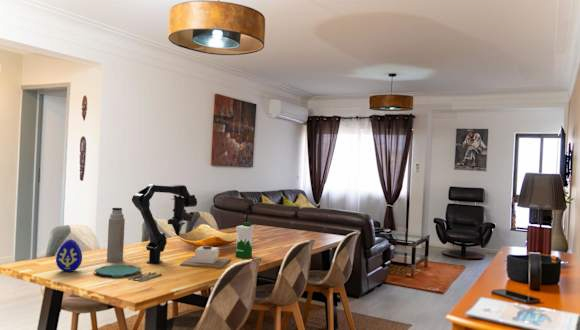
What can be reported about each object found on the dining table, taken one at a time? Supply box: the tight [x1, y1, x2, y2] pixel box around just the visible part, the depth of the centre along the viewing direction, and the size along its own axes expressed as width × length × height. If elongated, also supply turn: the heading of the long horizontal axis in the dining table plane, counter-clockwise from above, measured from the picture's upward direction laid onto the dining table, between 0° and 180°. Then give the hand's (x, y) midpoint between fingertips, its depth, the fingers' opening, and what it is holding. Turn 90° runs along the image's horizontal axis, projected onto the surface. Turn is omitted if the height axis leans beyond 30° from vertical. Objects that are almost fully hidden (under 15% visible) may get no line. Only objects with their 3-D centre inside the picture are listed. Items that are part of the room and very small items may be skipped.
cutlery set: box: [93, 264, 163, 283], centre depth 220 cm, size 20×30×2 cm, turn 65°
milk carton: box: [234, 221, 255, 259], centre depth 274 cm, size 9×9×20 cm
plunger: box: [202, 245, 213, 249], centre depth 253 cm, size 5×5×7 cm
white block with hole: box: [194, 245, 219, 263], centre depth 253 cm, size 10×10×7 cm
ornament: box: [55, 239, 83, 273], centre depth 221 cm, size 11×9×15 cm
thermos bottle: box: [106, 207, 126, 263], centre depth 248 cm, size 8×8×28 cm
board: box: [179, 255, 232, 269], centre depth 253 cm, size 22×22×1 cm
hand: (177, 235), depth 259 cm, fingers closed
